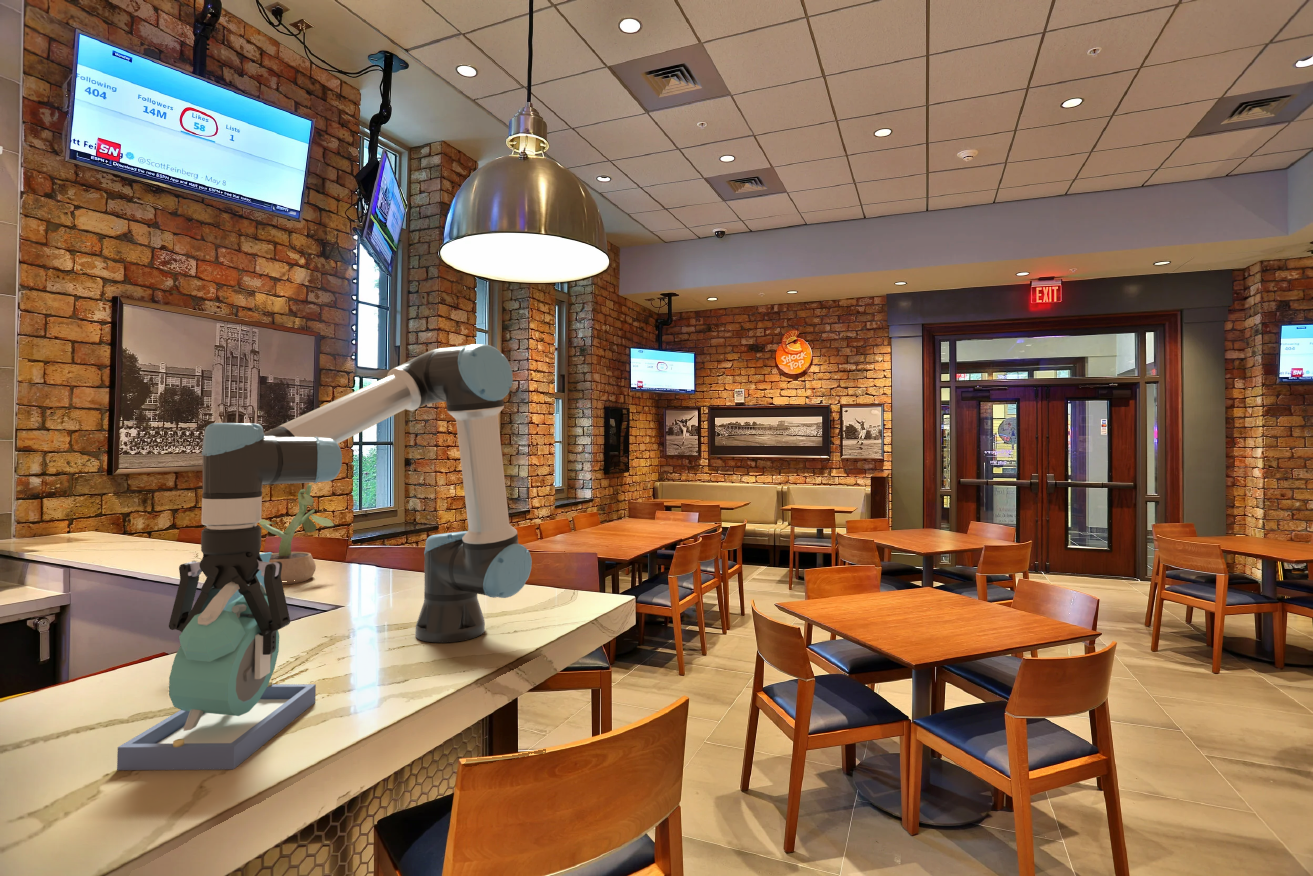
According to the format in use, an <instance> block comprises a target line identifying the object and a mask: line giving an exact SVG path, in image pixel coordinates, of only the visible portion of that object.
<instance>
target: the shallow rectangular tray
mask: <svg viewBox="0 0 1313 876" xmlns="http://www.w3.org/2000/svg"><path fill="white" fill-rule="evenodd" d="M316 685H317V684H316V683H315V684H314V683H313V684H311V683H308V684H307V683H306V684H300V683H298V684H297V683H296V684H295V683H294V684H293V683H292V684H286V683H285V684H283V683H282V684H273V680H270V681H269V684H268V686H267V688H266V690H265V691H264V693H263V695H262V696H261V698H260V700H259V701H258V702H257V704H256V705H255V706H254V707H253V708H252V709H251V710H250V711H249V712H247V713H245V714H243V715H240V716H233V715H223V714H213V713H203V714H202V716H201V718H200V720H199V722H198V724H197V726H196V727H194V728H193V729H191V730H186V731H184V726H185V723H186V721H187V718H188V715H189V713H190V711H183V710H180V709H179V710H177V712H175V713H174V714H171V715H170V716H168V717H166V718H165V719H163V720H161V721H159V722H158V723H156V724H155V725H152V726H151V727H149V728H148V729H146V730H145V731H143V732H141V733H139V734H137V735H136V736H135V737H133V738H131V739H129V740H128V741H126V742H124V743H122V744H120V745H119V746H118V747H117V751H116V752H117V757H116V759H117V760H116V763H117V764H116V770H117V771H170V770H172V771H177V770H179V771H181V770H182V771H183V770H189V771H191V770H195V771H197V770H202V771H203V770H204V771H205V770H235V769H236V768H237V767H239V766H240V765H241V764H242V763H243V762H245V761H246V760H247V759H248V758H249V757H251V756H252V755H253V754H255V752H257V751H258V750H259V749H260V748H262V747H263V746H264V745H265V744H266V743H267V742H269V741H270V740H271V739H273V738H274V737H275V736H276V735H278V734H279V733H280V732H281V731H282V730H284V729H285V728H286V727H287V726H288V725H290V724H291V723H293V721H295V720H296V719H297V718H298V717H299V716H301V714H303V713H304V712H306V710H308V709H309V708H310V707H312V706H313V705H314V704H315V703H316V695H317V693H316V689H317V687H316Z"/></svg>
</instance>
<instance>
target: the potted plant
mask: <svg viewBox="0 0 1313 876" xmlns="http://www.w3.org/2000/svg"><path fill="white" fill-rule="evenodd" d="M312 486H313V484H307V485H306V489H304V488H303V489H300V490H299V491H298V493H297V499H298V512H297V513H296V515H295V516H294V517H292V519H291V522H290V524H288V526H287V527H286V529H285V530H284V532H283V531H281V530H280V529H278V528H275V527H273V526H271V525H275V524H277V523H276V522H277V521H276V522H271V521H269V520H266V519H263V518H261V521H260V522H258V524H260V525H259V526H260V527H261V528H263V529H265V530H266V532H269V533H270V534H272V535H276V536H278V537H280V538H281V540H280V542H279V547H278V552H274V553H273V552H272V555H271V558H270V560H269V562H270V563H274V562H277V561H279V562H281V563H282V571H281V580H282V581H287V582H282V585H283V586H284V585H291V584H292V585H293V584H299V583H303V582H306V581H308V580H309V579H311V578H312V577H313V576H314V574H315V572H316V566H317V565H316V563H315V560H314V558H313V555H312V554H311V552H306V551H305V552H304V551H292V541H293V539H294V535H295V532H296V530H297V529H298V528H299V527H300V526H301V525H302V527H303V529H304V533H305V534H307V533H314V532H315V531H316V529H318V528H317V524H319V525H321V526H324V527H334V526H336V524H335V523H334V522H333V521H332V520H331V519H329V518H326V517H321V516H317V515H314V513H315V511H316V510H315V509H314V508H313V509H311V510H310V511H309V512H307V509H308V506H310V507H313V504H314V503H315V500H314V498H313V496H311V492H312ZM306 512H307V513H306ZM305 513H306V514H305ZM310 517H311V518H310ZM315 523H316V524H315ZM294 580H295V581H294Z"/></svg>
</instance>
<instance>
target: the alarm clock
mask: <svg viewBox="0 0 1313 876" xmlns="http://www.w3.org/2000/svg"><path fill="white" fill-rule="evenodd" d="M249 584H251V583H249ZM249 584H248V585H249ZM238 589H240V588H239V585H238V584H235V583H234V582H230V583H228V584H226V585H225V586H224V587H223V588H222V589H221V590H220V592H219V593H218V594H217V595H216V596H215V597H214V598H213V599H212V600H211V602H210V603H209V604H208V606H207V607H206V608H205V610H204V611H203V612H202V613H200V614H197V615H195V616H194V617H193V618H192V620H191V621H190V622H189V623H188V625H187V626H186V627H185V629H184V630H183V632H181V633H180V634H179V636H178V638H179V639H178V640H179V644H180V645H179V648H178V650H177V651H176V654H175V656H174V659H173V662H172V667H171V670H170V674H169V678H168V679H169V683H168V685H169V686H168V687H169V688H168V696H169V698H170V700H171V703H172V705H173V706H172V707H173V708H176V709H179V711H180V710H183V711H190V713H189V715H188V718H187V721H186V723H185V726H184V731H186V730H191V729H193V728H194V727H196V726H197V724H198V722H199V720H200V718H201V716H202V714H203V713H213V714H223V715H233V716H240V715H243V714H245V713H247V712H249V711H250V710H251V709H252V708H253V707H254V706H255V705H256V704H257V702H258V701H259V700H260V698H261V696H262V695H263V693H264V691H265V690H266V688H267V686H268V684H269V681H271V678H272V676H273V675H274V671H275V668H276V664H277V660H278V655H279V651H280V634H279V630H277V632H276V650H275V652H273V653H272V654H270V673H269V674H267V675H265V676H264V677H262V678H261V679H255V635H257V634H259V633H261V630H260V628H259V626H258V624H257V622H256V620H255V618H254V616H253V614H252V612H251V610H250V608H249V606H248V604H247V602H246V600H245V598H244V596H243V595H242V596H240V597H239V598H237V599H236V600H234V601H233V602H231V603H230V604H229V605H228V607H227V608H226V610H223V609H224V607H225V605H226V604H227V602H228V600H229V599H230V598H231V597H232V595H233V594H234V593H235V592H236V591H237V590H238ZM260 589H261V591H262V593H263V595H264V597H265V599H266V601H267V603H268V599H267V595H266V590H265V588H264V587H263V586H262V584H261V583H260ZM268 605H269V604H268Z"/></svg>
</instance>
